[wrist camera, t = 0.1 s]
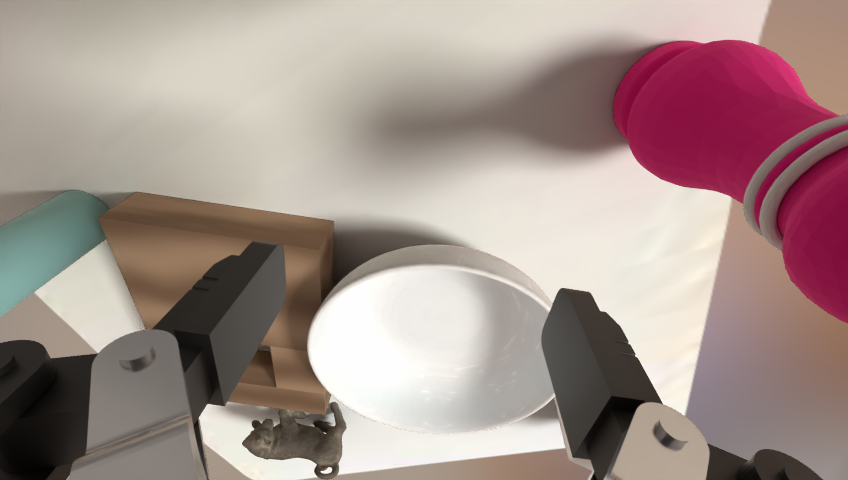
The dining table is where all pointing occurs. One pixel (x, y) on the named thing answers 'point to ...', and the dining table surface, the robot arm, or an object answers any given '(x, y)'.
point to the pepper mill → (748, 150)
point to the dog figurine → (299, 440)
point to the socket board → (212, 242)
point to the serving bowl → (434, 341)
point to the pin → (46, 243)
